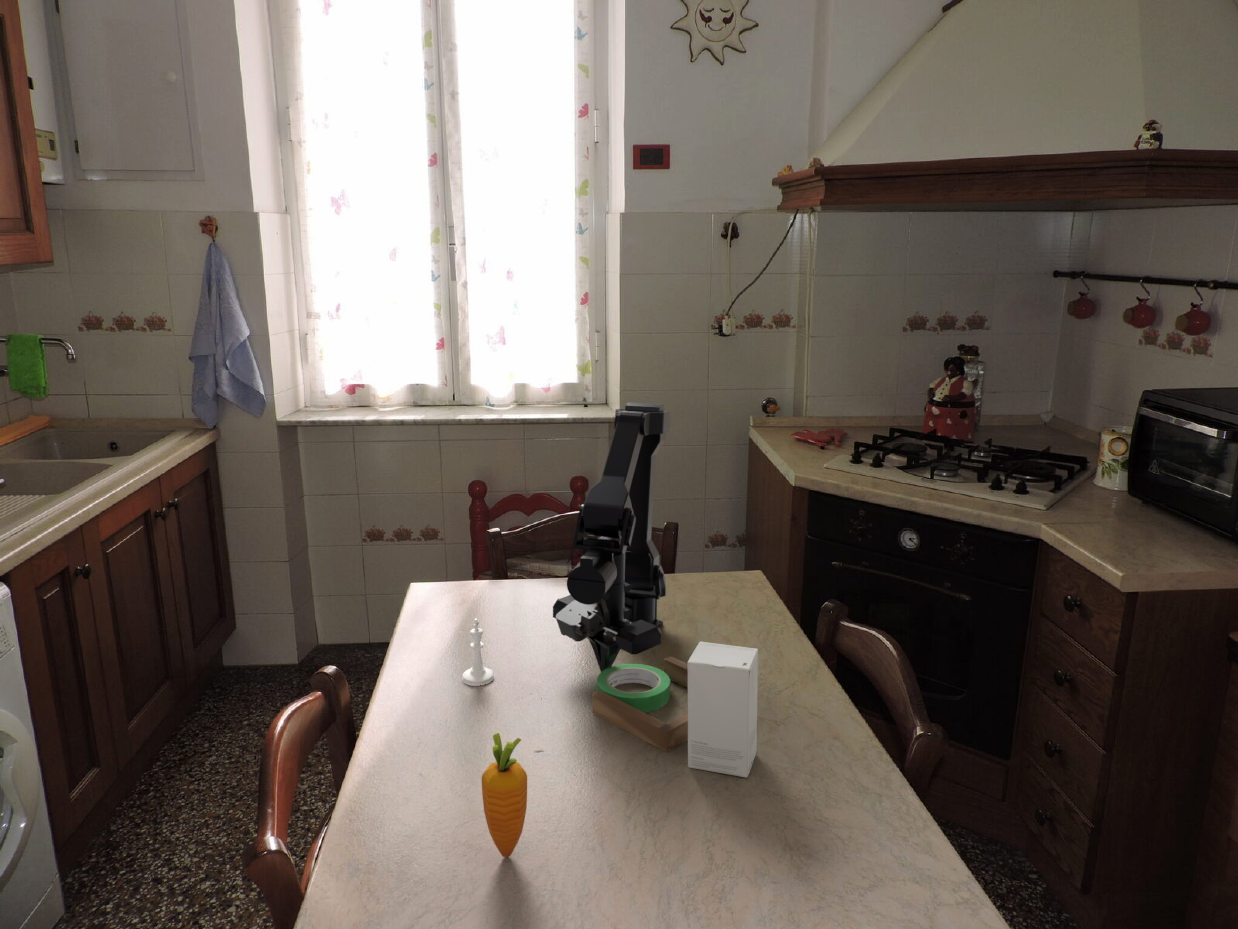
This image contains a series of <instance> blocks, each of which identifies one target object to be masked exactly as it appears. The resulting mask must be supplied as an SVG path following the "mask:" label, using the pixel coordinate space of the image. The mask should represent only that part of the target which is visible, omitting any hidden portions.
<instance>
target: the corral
mask: <svg viewBox="0 0 1238 929" xmlns="http://www.w3.org/2000/svg"><path fill="white" fill-rule="evenodd" d="M663 672H665V673H666V674H667V675H668V676H669V678H670V681H671V682H675V683H676V684H678V685H681V686H683V687H685V688H687V689H688V662H684V661H682V660H680V659H678V658H675V657H673V656H668V657H667V658H664V660H663ZM591 694H592V696H591V700H592V701H591V703H592V704H591V705H592V710H591V712H592V714H594V715H596V716H598V717H600V718H602V719H604V720H605V721H607V722H609V723H611V724H613V725H614V726H616V727H619V728H621V729H622V730H624V731H626V732H628V733H629V734H632V735H634V736H635V737H637V738H639V739H641V740H643V741H645V742H647V743H649V744H651V745H653V746H654V747H656V748H658V749H659V750H662V751H664V752H665V753H668V752H671V750H673V749H674V748H676V747H678V746H680V745H681V744H683V743H685V742H688V711H687V712H685V713H683V714H682V715H680V716H678V717H676V718H675V719H674V718H673V720H670V721H669V722H667V723H665V722H663V721H661V720H660V719H657V718H655V716H654V717H653V716H651V715H650V714H647V712H646V713H644V712H642V711H640V710H638V709H636V708H634V707H632V706H630V705H628V704H626V703H624V702H622V701H620V700H618V699H616V698H614V697H612V696H610V695H608V694H606V693H604V692H602V691H600V690H599V691H597V690H596V692H593V693H591Z"/></svg>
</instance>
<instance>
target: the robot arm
mask: <svg viewBox="0 0 1238 929" xmlns="http://www.w3.org/2000/svg"><path fill="white" fill-rule="evenodd" d="M614 414H615V415H614V416H615V417H614V421H613V422H614V427H613V428H614V430H613V431H614V432H613V436H612V439H611V443H610V446H609V449H608V453H607V456H606V459H605V464H604V467H603V471H602V473H601V477H600V479H599V481H598V482H597V483H596V484H594V485H593V486H592V487H591V488H590V489H589V490H588V492H587V495H586V497H585V501H584V502H583V504H581V505H580V508H579V510H578V516H577V521H576V526H575V532H574V538H573V542H572V549H573V550H576V551H577V550H578V551H582V555H581V557H580V558H579V562H578V563H577V565H575V566H574V568H573V569H572V570H571V571H570V573H569V574H568V576H567V580H566V588H567V591H568V593H569V595H566V596H562V597H561V598H558V599H557V600H556V601H555V603H554V604H553V606H552V618H554V619H556V622H557V626H558V629H559V631H560V635H562V636H566V637H568V638H569V639H572V640H573V641H574V642H582V641H584V640H585V639H587V640H588V641H589V644H590V645H591V648H592V651H593V653H594V656H595V659H596V661H597V664H598V668H599V671H600V673H601V672H602V671H604V670H605V669H607V668H609V667H613V666H614V663H615V661H616V659H617V657H618V655H619V653H620V651H621V650H622V651H623V652H626V653H628V654H630V655H639V654H642V653H644V652H647V651H649V650H651V649H653V648H655V647H657V646H659V645H662V630H661V628H660V627H661V626H663V625H664V621H662V620H661V619H658V617H657V616H658V600H660V598H663V597H666V596H667V582H666V581H667V580H666V576H665V572H664V570H663V567H662V565H660V553H659V551H658V549H657V547H656V545H655V543H654V541H653V540H652V527H653V526H652V525H653V512H654V511H653V509H654V508H653V507H654V492H655V490H654V488H655V474H656V473H655V472H656V471H655V470H656V456H657V454H658V452H659V451H660V449H661V448H662V446H663V445H664V444H665V442H666V439H667V433H668V432H669V430H670V426H671V411H669V410H666V409H665V406H664V404H662V403H652V402H651V403H650V402H649V403H647V402H634V401H633V402H632V401H628V402H627V403H626V404H625V407H622V408H617V409H615V413H614ZM584 534H586V535H587V536H591V538H590V537H584ZM592 537H594V538H592ZM595 537H597V538H595Z"/></svg>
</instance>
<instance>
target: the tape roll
mask: <svg viewBox="0 0 1238 929" xmlns="http://www.w3.org/2000/svg"><path fill="white" fill-rule="evenodd" d="M596 678H597V679H596V692H597V691H599V690H600V691H602V692H604V693H606V694H608V695H610V696H612V697H614V698H616V699H618V700H620V701H622V702H624V703H626V704H628V705H630V706H632V707H634V708H636V709H638V710H640V711H642V712H644V713H646V714H647V713H650V712H654V711H655V712H656V711H657V710H659V709H661V708H663V707H665V706H666V705H667V704H668V703H669V701H670V698H671V680H670V678H669V676H668V675H667V674H666V673H665V672H664V670H662V669H660V668H657V667H656V666H653V665H652V666H651V665H647V664H641V663H624V664H617V665H612V667H609V668H607V669H605V670H604V671H602V672H601V671H600V673H599V674H598V675H597V677H596ZM632 683H634V684H642V685H647V686H649V687H651V689H648V690H645V691H638V692H637V691H635V692H631V691H624V690H621V689H618V688H616V686H619V685H623V684H632Z"/></svg>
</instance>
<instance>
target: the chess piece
mask: <svg viewBox="0 0 1238 929" xmlns="http://www.w3.org/2000/svg"><path fill="white" fill-rule="evenodd" d="M473 623H474V624H472V625H473V628H472V629H471V630H469V635H470V636H471V639H472V641H473V642H471V643H470V646H469V647H470V649H472V650H473V659H472V666H471V667H470V668H468V669H466V670H465V671H464V672H463V673H462V678H461V681H462V682H463V683H464V684H465V685H468V686H471V687H472V686H473V687H479V686H480V685H481V686H486V685H488V684H490V683H492V682H493V681H494V678H495V675H494V671H493V670H492V669H490V668H488V667H485V666H484V663H483V658H482V652H481V649H482V648H484V647H485V645H484V642H482V641H481V640H482V638H483V633H484V630H483V628H479V625H480V621H479V619H478V618H474V622H473ZM491 681H492V682H491ZM485 684H486V685H485ZM481 686H480V687H481Z"/></svg>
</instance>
